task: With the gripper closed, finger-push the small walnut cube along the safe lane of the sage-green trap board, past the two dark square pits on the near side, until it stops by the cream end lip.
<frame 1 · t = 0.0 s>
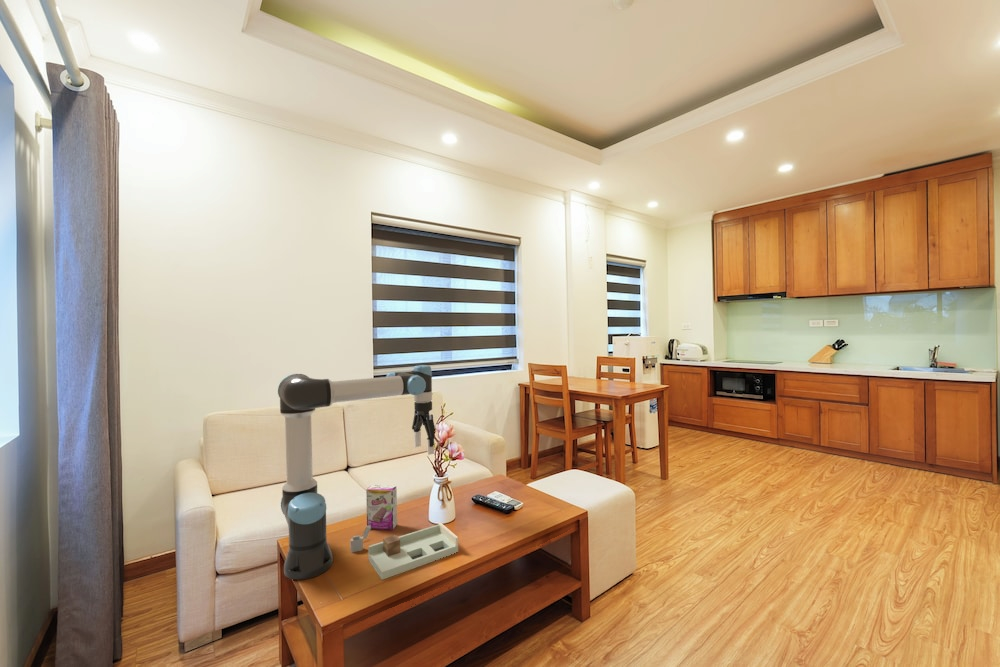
hand: (424, 450, 182), 28 cm above the table, fingers open, 13 cm apart
lighter: (361, 549, 155), on the table
candy bar box: (382, 527, 172), on the table
block: (391, 551, 148), point 2 cm above the table, touching trap board
trap board: (414, 556, 150), on the table
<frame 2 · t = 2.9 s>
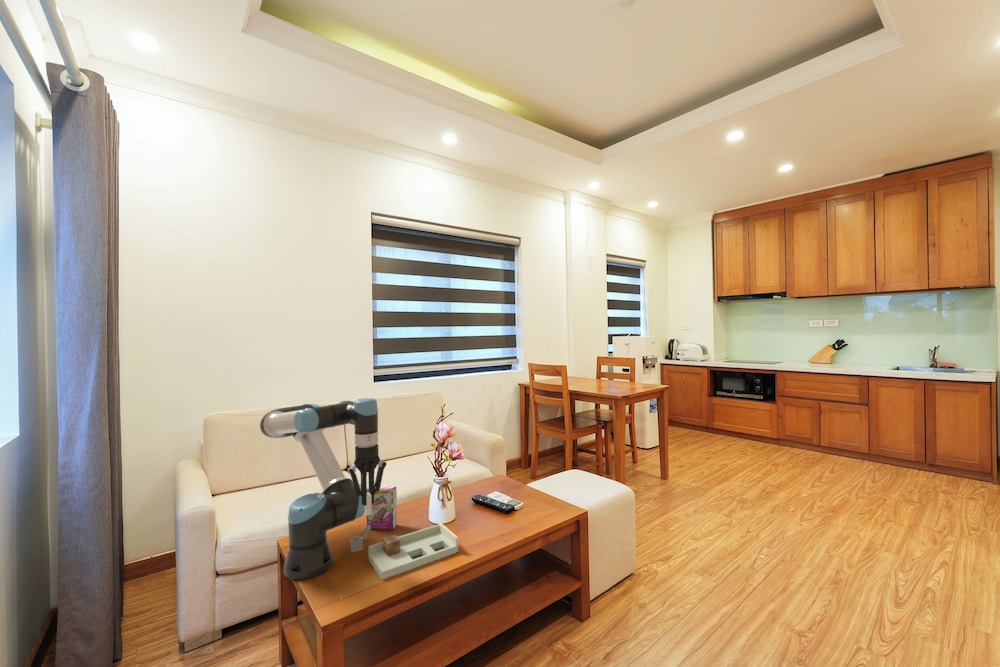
hand: (368, 513, 143), 18 cm above the table, fingers closed
nothing on the table moved.
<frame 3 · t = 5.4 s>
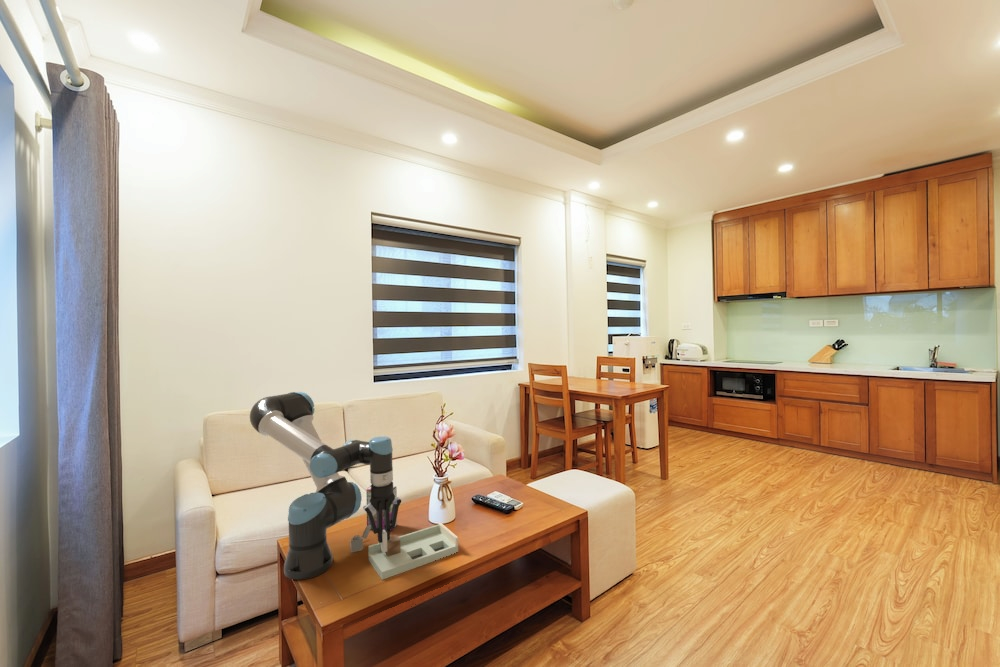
hand: (384, 550, 146), 4 cm above the table, fingers closed
block: (392, 551, 148), point 3 cm above the table, touching gripper, trap board
everything else where it was.
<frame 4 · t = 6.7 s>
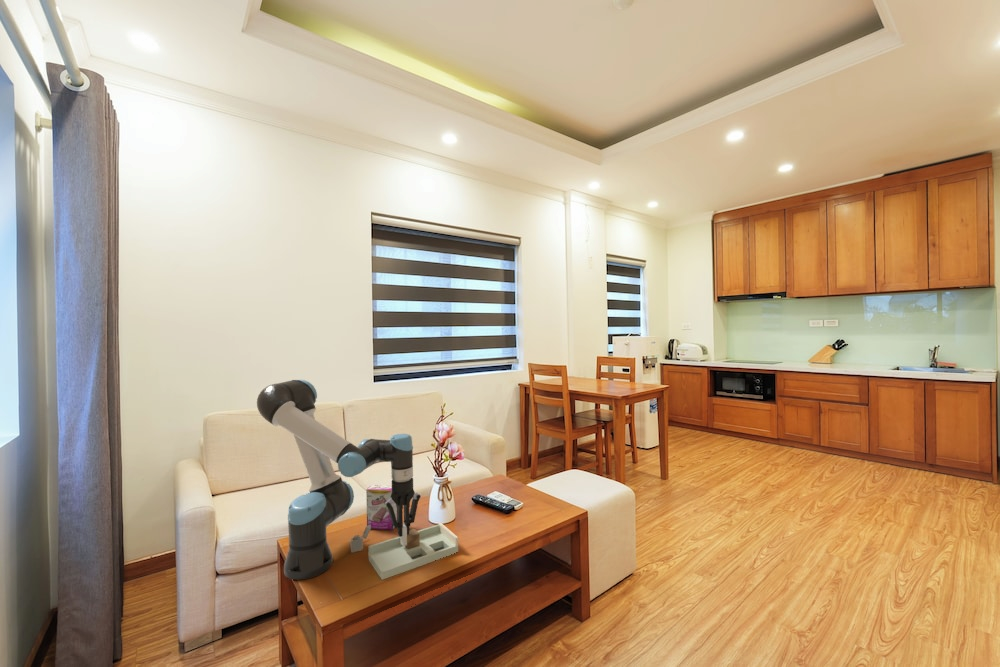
hand: (403, 543, 150), 4 cm above the table, fingers closed
block: (411, 545, 152), point 2 cm above the table, touching gripper, trap board
everything else where it was.
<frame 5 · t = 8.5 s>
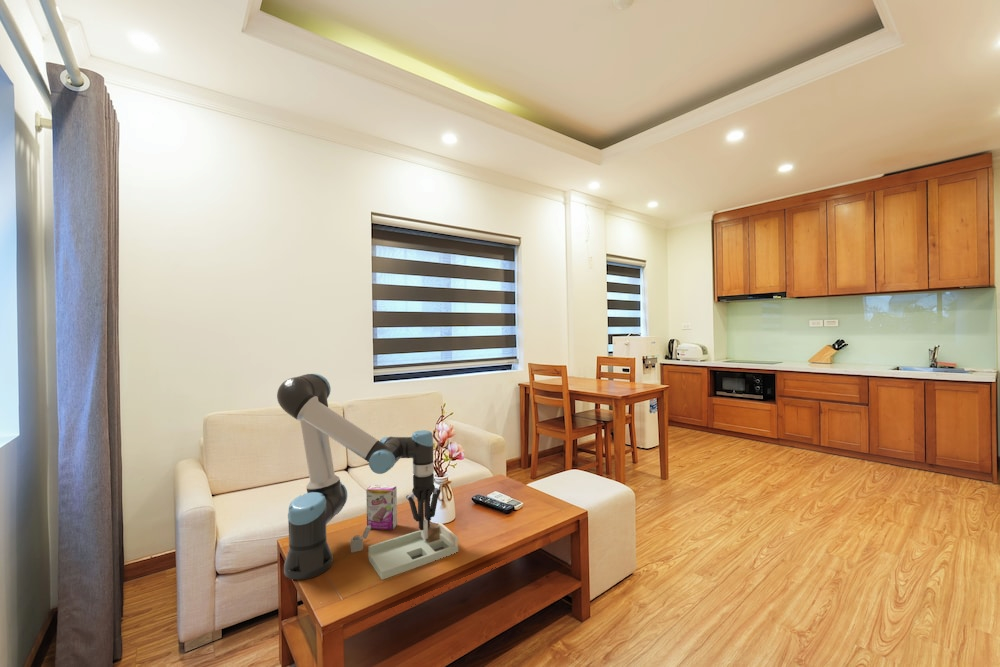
hand: (424, 537, 155), 4 cm above the table, fingers closed
block: (431, 538, 157), point 2 cm above the table, touching gripper, trap board
everything else where it was.
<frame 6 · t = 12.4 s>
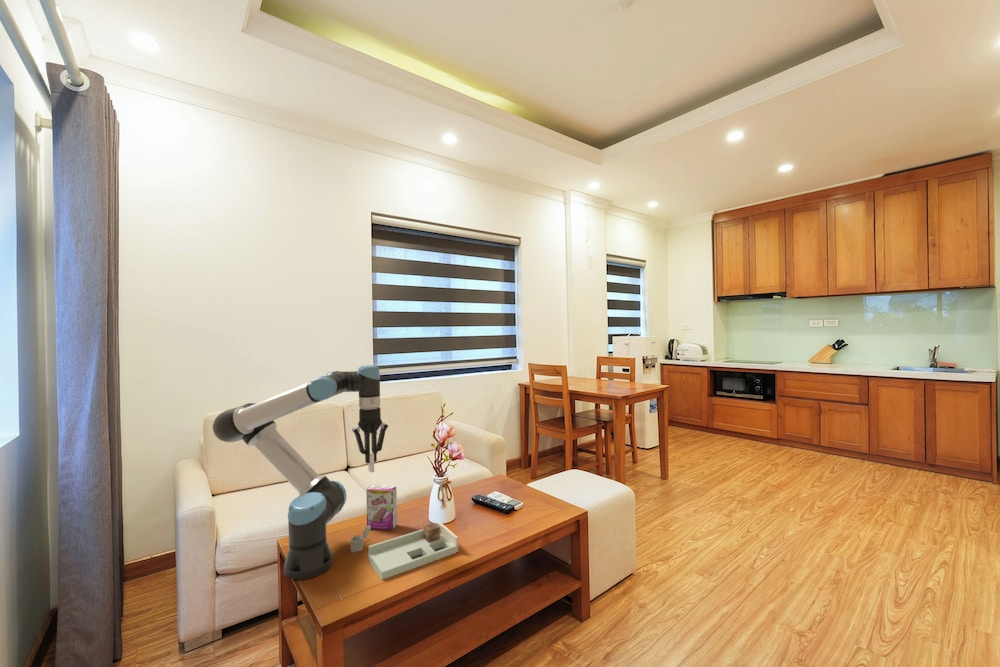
hand: (371, 471, 156), 28 cm above the table, fingers closed
block: (431, 538, 157), point 2 cm above the table, touching trap board
everything else where it was.
at the end: block 1.7 cm from the target spot, point 2.5 cm above the table; block tilted 0° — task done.
